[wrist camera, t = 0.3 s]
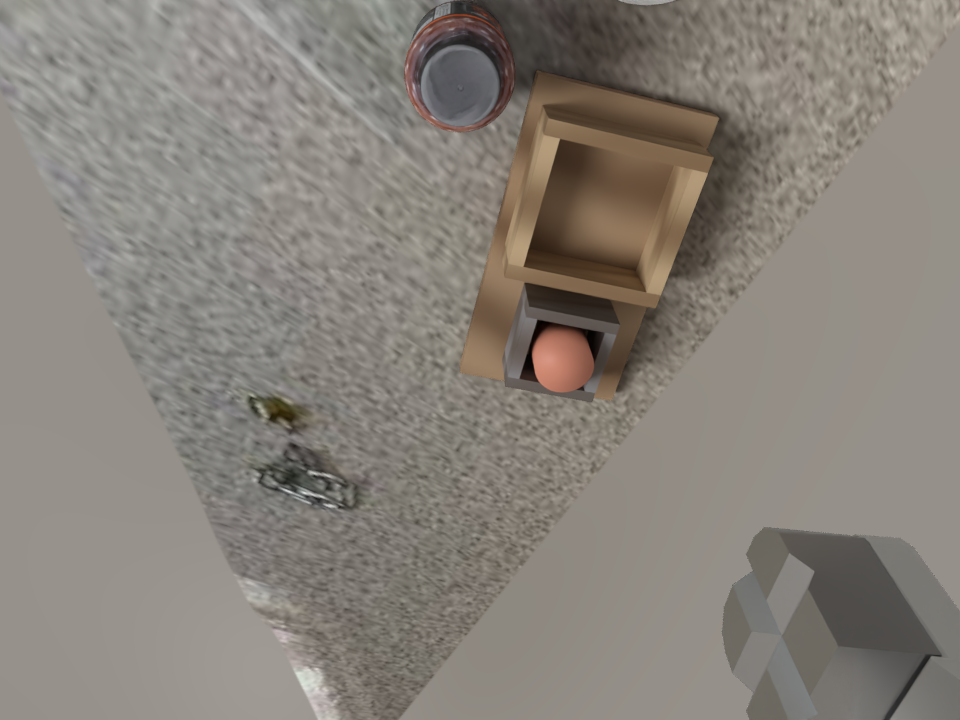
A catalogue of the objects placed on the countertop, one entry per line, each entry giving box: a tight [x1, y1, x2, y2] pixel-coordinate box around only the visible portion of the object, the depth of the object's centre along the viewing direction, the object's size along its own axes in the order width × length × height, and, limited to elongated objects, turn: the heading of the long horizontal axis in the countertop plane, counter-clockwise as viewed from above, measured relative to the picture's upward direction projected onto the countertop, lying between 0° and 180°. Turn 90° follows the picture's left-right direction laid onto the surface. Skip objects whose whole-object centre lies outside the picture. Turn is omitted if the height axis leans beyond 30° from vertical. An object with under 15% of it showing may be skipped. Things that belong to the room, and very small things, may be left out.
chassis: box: [460, 70, 719, 402], centre depth 54 cm, size 22×12×5 cm, turn 167°
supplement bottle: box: [404, 1, 515, 132], centre depth 44 cm, size 6×6×11 cm
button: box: [530, 321, 594, 392], centre depth 55 cm, size 4×4×3 cm
